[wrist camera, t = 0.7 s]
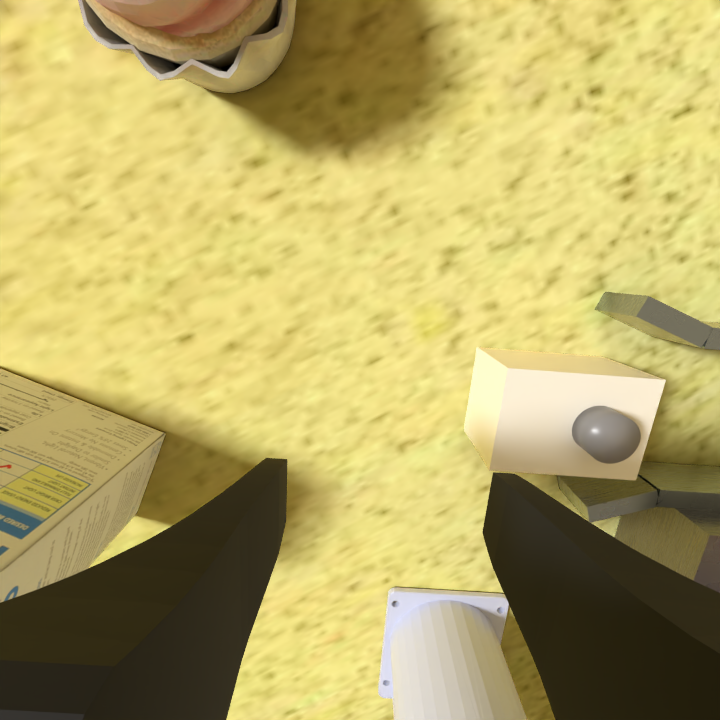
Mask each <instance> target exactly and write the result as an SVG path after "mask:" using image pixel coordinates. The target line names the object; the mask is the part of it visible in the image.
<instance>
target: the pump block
mask: <svg viewBox="0 0 720 720" xmlns="http://www.w3.org/2000/svg"><path fill="white" fill-rule="evenodd" d="M665 382H666V380H665V379H662V378H659V377H657V376H654V375H651V374H649V373H646V372H643V371H640V370H638V369H635V368H632V367H630V366H627V365H624V364H621V363H619V362H616V361H613V360H611V359H608V358H605V357H602V356H590V355H577V354H564V353H551V352H537V351H524V350H511V349H498V348H484V347H477V350H476V356H475V363H474V369H473V375H472V382H471V388H470V394H469V400H468V407H467V413H466V419H465V425H464V431H465V433H466V434H467V436H468V437H469V439H470V441H471V442H472V444H473V445H474V447H475V448H476V450H477V452H478V453H479V455H480V456H481V458H482V460H483V461H484V463H485V464H486V466H487V468H488V469H489V470H493V471H507V472H522V473H536V474H550V475H564V476H578V477H593V478H607V479H621V480H635V481H636V479H637V475H638V472H639V469H640V465H641V462H642V459H643V455H644V452H645V449H646V445H647V442H648V439H649V435H650V432H651V429H652V425H653V422H654V419H655V415H656V412H657V408H658V405H659V402H660V398H661V395H662V392H663V388H664V385H665Z"/></svg>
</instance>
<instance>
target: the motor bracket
mask: <svg viewBox="0 0 720 720" xmlns="http://www.w3.org/2000/svg"><path fill="white" fill-rule="evenodd" d="M595 310H597V311H600V312H602V313H604V314H606V315H608V316H610V317H612V318H614V319H616V320H619V321H621V322H623V323H625V324H627V325H629V326H631V327H633V328H635V329H637V330H640V331H642V332H644V333H646V334H648V335H650V336H653V337H657V338H661V339H665V340H670V341H674V342H678V343H682V344H686V345H691V346H695V347H699V348H703V349H716V350H720V323H716V322H701V321H699V320H696V319H694V318H692V317H690V316H688V315H686V314H684V313H682V312H680V311H678V310H676V309H674V308H672V307H670V306H668V305H666V304H664V303H662V302H660V301H657V300H655V299H653V298H651V297H649V296H641V295H631V294H621V293H611V292H605V293H604V295H603V297H602V298H601V300H600V302H599V303H598V305H597V306H596V308H595ZM557 477H558V483H559V489H560V490H561V491H562V492H563V493H564V495H565V496H566V497H567V498H568V499H569V500H570V501H571V502H572V504H573V505H574V506H575V507H576V508H577V509H578V510H579V511H580V513H581V514H582V515H583V516H584V517H585V518H586V519H587V520H588V522H594V521H599V520H603V519H607V518H611V517H616V516H620V515H621V518H620V522H619V525H618V529H617V532H616V536H615V538H616V539H617V540H619V541H621V542H622V543H624V544H626V545H627V546H629V547H631V548H633V549H634V550H636V551H638V552H640V553H641V554H643V555H645V556H647V557H649V558H651V559H653V560H655V561H656V562H658V563H660V564H662V565H664V566H666V567H668V568H670V569H671V570H673V571H675V572H677V573H679V574H681V575H683V576H685V577H687V578H689V579H691V580H693V581H695V582H697V583H699V584H702V585H704V586H706V587H708V588H710V589H712V590H715V591H717V592H719V593H720V466H706V465H690V464H675V463H659V462H643V461H642V462H641V465H640V469H639V472H638V475H637V479H636V481H635V480H621V479H607V478H593V477H578V476H564V475H557Z"/></svg>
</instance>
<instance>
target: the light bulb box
mask: <svg viewBox="0 0 720 720" xmlns="http://www.w3.org/2000/svg"><path fill="white" fill-rule="evenodd" d="M164 437H165V433H164V432H160V431H158V430H155V429H153V428H150V427H148V426H145V425H143V424H140V423H138V422H135V421H133V420H130V419H128V418H125V417H123V416H120V415H118V414H115V413H112V412H110V411H107V410H105V409H102V408H99V407H97V406H94V405H92V404H89V403H87V402H84V401H82V400H79V399H77V398H74V397H72V396H69V395H67V394H64V393H62V392H59V391H56V390H54V389H51V388H49V387H46V386H44V385H41V384H39V383H36V382H34V381H31V380H28V379H26V378H23V377H21V376H18V375H16V374H13V373H11V372H8V371H5V370H3V369H0V603H1V602H3V601H6V600H9V599H12V598H15V597H18V596H21V595H24V594H26V593H29V592H32V591H34V590H37V589H40V588H42V587H45V586H47V585H50V584H52V583H55V582H57V581H60V580H62V579H65V578H67V577H70V576H72V575H74V574H77V573H79V572H81V571H84V570H86V569H88V568H89V566H90V565H91V564H92V563H93V562H94V561H95V560H96V559H97V557H98V556H99V555H100V554H101V553H102V552H103V551H104V549H105V548H106V547H107V546H108V545H109V544H110V543H111V542H112V540H113V539H114V538H115V537H116V536H117V535H118V534H119V533H120V532H121V530H122V529H123V528H124V527H125V526H126V525H127V524H128V522H129V521H130V520H131V519H132V518H133V517H134V516H135V515H136V513H137V511H138V509H139V506H140V503H141V501H142V498H143V495H144V493H145V490H146V487H147V484H148V481H149V478H150V476H151V473H152V470H153V467H154V465H155V462H156V459H157V457H158V454H159V451H160V448H161V446H162V443H163V440H164Z"/></svg>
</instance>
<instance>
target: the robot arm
mask: <svg viewBox="0 0 720 720" xmlns="http://www.w3.org/2000/svg"><path fill="white" fill-rule="evenodd" d="M286 499H287V459H272V458H266V459H264V460H263V461H262V462H260V463H259V464H258V465H257V466H255V467H254V468H253V469H252V470H251V471H249V472H248V473H247V474H246V475H244V476H243V477H242V478H241V479H239V480H238V481H237V482H236V483H234V484H233V485H232V486H230V487H229V488H228V489H226V490H225V491H224V492H223V493H221V494H220V495H218V496H217V497H215V498H214V499H213V500H211V501H210V502H208V503H207V504H205V505H204V506H203V507H201V508H200V509H198V510H197V511H195V512H194V513H192V514H191V515H189V516H188V517H186V518H185V519H183V520H181V521H180V522H178V523H177V524H175V525H173V526H171V527H170V528H168V529H166V530H164V531H163V532H161V533H159V534H157V535H156V536H154V537H152V538H150V539H148V540H147V541H145V542H143V543H141V544H139V545H137V546H135V547H132V548H130V549H128V550H126V551H124V552H122V553H120V554H118V555H116V556H114V557H112V558H110V559H108V560H106V561H104V562H102V563H100V564H97V565H95V566H93V567H91V568H88V569H86V570H84V571H81V572H79V573H77V574H74V575H72V576H70V577H67V578H65V579H62V580H60V581H57V582H55V583H52V584H50V585H47V586H45V587H42V588H40V589H37V590H34V591H32V592H29V593H26V594H24V595H21V596H18V597H15V598H12V599H9V600H6V601H3V602H1V603H0V720H226V718H227V714H228V710H229V707H230V703H231V699H232V695H233V691H234V688H235V684H236V680H237V676H238V673H239V669H240V665H241V661H242V658H243V655H244V651H245V648H246V645H247V642H248V639H249V636H250V633H251V630H252V627H253V625H254V622H255V619H256V616H257V613H258V611H259V608H260V605H261V602H262V599H263V597H264V594H265V591H266V588H267V585H268V583H269V580H270V577H271V574H272V571H273V568H274V566H275V563H276V560H277V557H278V554H279V550H280V545H281V541H282V537H283V532H284V528H285V523H286ZM483 536H484V539H485V543H486V546H487V550H488V553H489V556H490V560H491V563H492V566H493V569H494V571H495V573H496V576H497V578H498V580H499V583H500V585H501V587H502V589H503V592H504V594H501V593H484V592H468V591H451V590H434V589H417V588H400V587H394V588H391V589H390V590H389V592H388V600H387V609H386V619H385V628H384V637H383V647H382V656H381V666H380V675H379V684H378V693H379V695H380V696H381V697H382V698H393V711H394V720H527V718H526V715H525V712H524V709H523V707H522V704H521V701H520V698H519V696H518V693H517V690H516V687H515V685H514V682H513V679H512V676H511V674H510V671H509V668H508V665H507V663H506V660H505V657H504V655H503V652H502V649H501V646H500V645H501V641H502V636H503V631H504V626H505V622H506V617H507V612H508V607H509V605H510V607H511V610H512V612H513V614H514V616H515V619H516V621H517V623H518V625H519V627H520V630H521V632H522V634H523V636H524V639H525V641H526V643H527V645H528V648H529V650H530V652H531V654H532V657H533V659H534V662H535V664H536V667H537V669H538V671H539V674H540V676H541V679H542V682H543V685H544V688H545V691H546V693H547V696H548V699H549V702H550V705H551V708H552V711H553V713H554V716H555V719H556V720H720V593H719V592H717V591H715V590H712V589H710V588H708V587H706V586H704V585H702V584H699V583H697V582H695V581H693V580H691V579H689V578H687V577H685V576H683V575H681V574H679V573H677V572H675V571H673V570H671V569H670V568H668V567H666V566H664V565H662V564H660V563H658V562H656V561H655V560H653V559H651V558H649V557H647V556H645V555H643V554H641V553H640V552H638V551H636V550H634V549H633V548H631V547H629V546H627V545H626V544H624V543H622V542H621V541H619V540H617V539H616V538H614V537H612V536H611V535H609V534H607V533H606V532H604V531H603V530H601V529H599V528H598V527H596V526H594V525H593V524H591V523H590V522H588V521H587V520H585V519H583V518H582V517H580V516H579V515H577V514H576V513H574V512H573V511H571V510H570V509H568V508H567V507H565V506H564V505H562V504H561V503H559V502H558V501H556V500H555V499H553V498H552V497H550V496H549V495H547V494H546V493H544V492H543V491H541V490H540V489H538V488H537V487H535V486H534V485H532V484H531V483H529V482H528V481H526V480H524V479H523V478H521V477H519V476H517V475H516V474H510V473H494V472H493V477H492V482H491V488H490V493H489V499H488V505H487V510H486V516H485V522H484V527H483ZM393 601H397V602H393ZM499 607H500V608H499Z"/></svg>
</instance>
